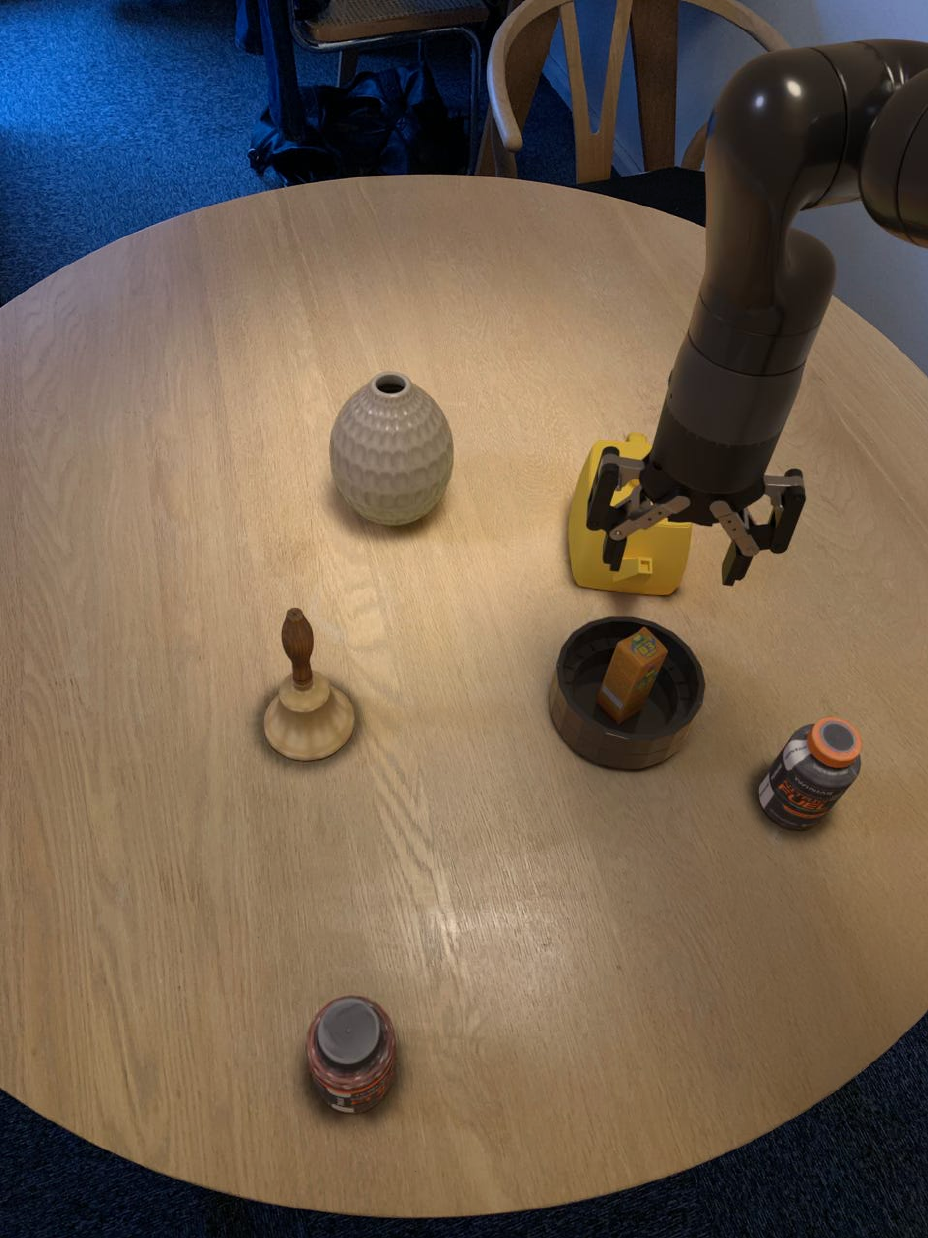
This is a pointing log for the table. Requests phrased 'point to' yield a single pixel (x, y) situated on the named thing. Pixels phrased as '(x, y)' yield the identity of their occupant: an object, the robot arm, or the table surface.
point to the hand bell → (306, 702)
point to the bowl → (645, 731)
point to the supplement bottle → (352, 1053)
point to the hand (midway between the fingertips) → (670, 570)
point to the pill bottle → (811, 773)
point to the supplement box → (631, 675)
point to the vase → (391, 450)
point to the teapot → (648, 554)
